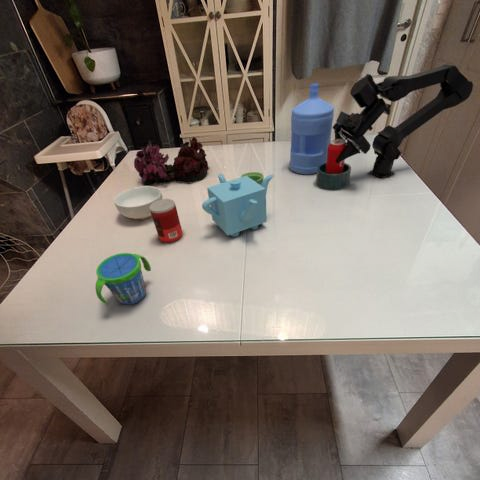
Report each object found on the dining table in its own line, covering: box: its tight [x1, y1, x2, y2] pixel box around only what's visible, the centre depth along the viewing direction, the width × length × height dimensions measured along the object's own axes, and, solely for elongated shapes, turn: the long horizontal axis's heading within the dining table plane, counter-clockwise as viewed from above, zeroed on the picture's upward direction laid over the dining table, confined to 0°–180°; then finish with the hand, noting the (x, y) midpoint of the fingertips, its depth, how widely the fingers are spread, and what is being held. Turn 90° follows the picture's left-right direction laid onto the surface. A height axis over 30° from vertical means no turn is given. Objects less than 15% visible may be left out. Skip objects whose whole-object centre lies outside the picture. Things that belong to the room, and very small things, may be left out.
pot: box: [315, 162, 352, 191], centre depth 112 cm, size 12×12×6 cm
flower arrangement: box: [133, 136, 209, 186], centre depth 125 cm, size 31×20×15 cm, turn 101°
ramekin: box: [240, 171, 265, 185], centre depth 115 cm, size 9×9×4 cm
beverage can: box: [325, 138, 347, 174], centre depth 108 cm, size 6×6×12 cm
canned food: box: [149, 198, 183, 244], centre depth 94 cm, size 8×8×11 cm
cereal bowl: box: [113, 185, 163, 220], centre depth 108 cm, size 17×17×7 cm
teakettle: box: [201, 173, 275, 238], centre depth 93 cm, size 19×19×15 cm
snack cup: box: [95, 252, 152, 306], centre depth 76 cm, size 16×10×10 cm
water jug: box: [289, 82, 335, 175], centre depth 115 cm, size 16×16×28 cm
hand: (332, 158), depth 107 cm, fingers closed on beverage can, 6 cm apart
